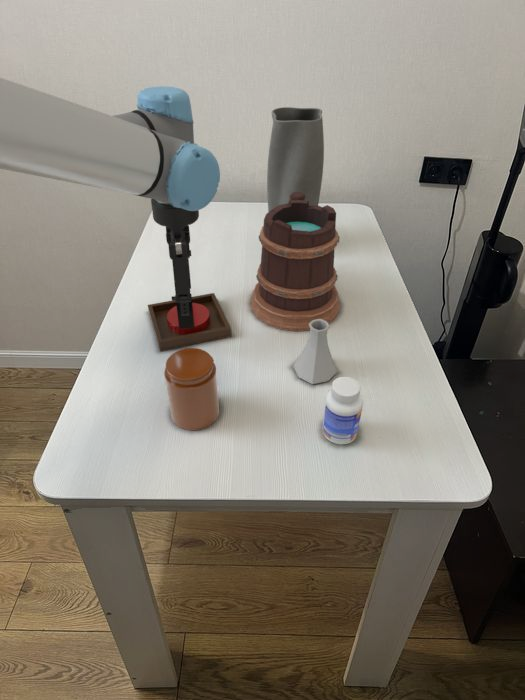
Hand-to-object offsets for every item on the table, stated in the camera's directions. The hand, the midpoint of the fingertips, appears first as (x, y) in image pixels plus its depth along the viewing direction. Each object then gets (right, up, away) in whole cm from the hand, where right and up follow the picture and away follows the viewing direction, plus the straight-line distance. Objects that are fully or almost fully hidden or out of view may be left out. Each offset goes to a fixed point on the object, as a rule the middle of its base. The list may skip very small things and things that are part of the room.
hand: (185, 306), depth 92 cm
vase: (+22, +18, +28) cm, 40 cm away
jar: (+4, -18, -15) cm, 24 cm away
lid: (0, -2, +2) cm, 2 cm away
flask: (+24, -12, -7) cm, 27 cm away
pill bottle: (+26, -21, -17) cm, 38 cm away
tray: (0, -3, +3) cm, 4 cm away
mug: (+21, +3, +10) cm, 24 cm away
